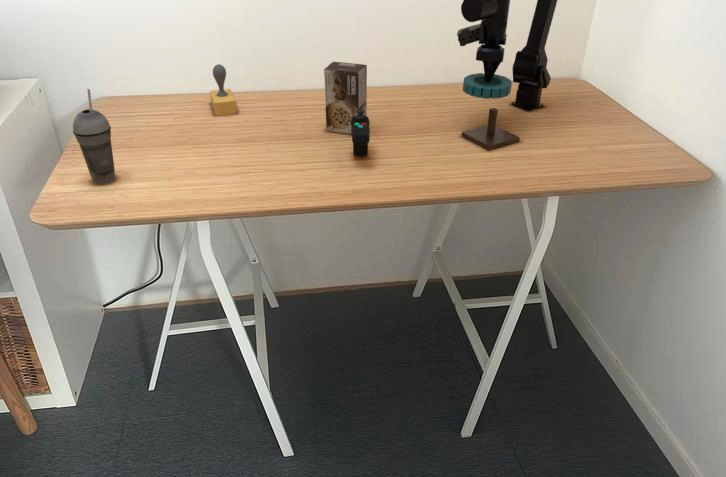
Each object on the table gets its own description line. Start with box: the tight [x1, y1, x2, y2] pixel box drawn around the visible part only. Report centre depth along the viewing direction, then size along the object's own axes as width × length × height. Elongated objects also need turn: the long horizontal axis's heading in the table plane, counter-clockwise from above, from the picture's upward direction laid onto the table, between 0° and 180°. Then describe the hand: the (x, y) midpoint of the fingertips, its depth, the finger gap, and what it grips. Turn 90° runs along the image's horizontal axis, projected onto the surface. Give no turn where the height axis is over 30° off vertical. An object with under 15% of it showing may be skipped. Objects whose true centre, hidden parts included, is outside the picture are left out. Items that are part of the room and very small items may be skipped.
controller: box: [350, 109, 371, 158], centre depth 141 cm, size 4×12×10 cm, turn 1°
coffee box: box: [323, 61, 368, 135], centre depth 153 cm, size 9×6×16 cm
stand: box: [460, 107, 521, 151], centre depth 151 cm, size 10×10×8 cm
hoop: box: [462, 72, 513, 100], centre depth 149 cm, size 11×11×2 cm
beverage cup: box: [72, 88, 116, 186], centre depth 127 cm, size 7×7×20 cm
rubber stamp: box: [209, 63, 238, 116], centre depth 166 cm, size 10×6×12 cm, turn 18°
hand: (487, 80), depth 153 cm, fingers closed on hoop, 2 cm apart
